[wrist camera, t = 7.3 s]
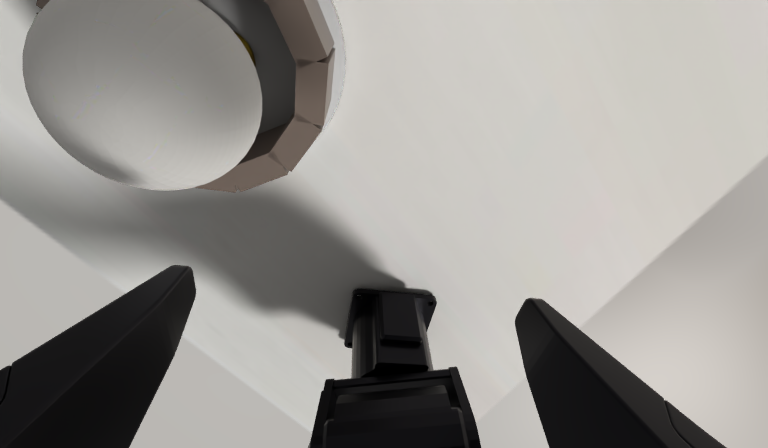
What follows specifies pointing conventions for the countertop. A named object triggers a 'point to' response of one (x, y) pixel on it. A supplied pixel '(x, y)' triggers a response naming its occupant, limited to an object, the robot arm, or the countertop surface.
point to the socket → (284, 80)
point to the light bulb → (144, 89)
